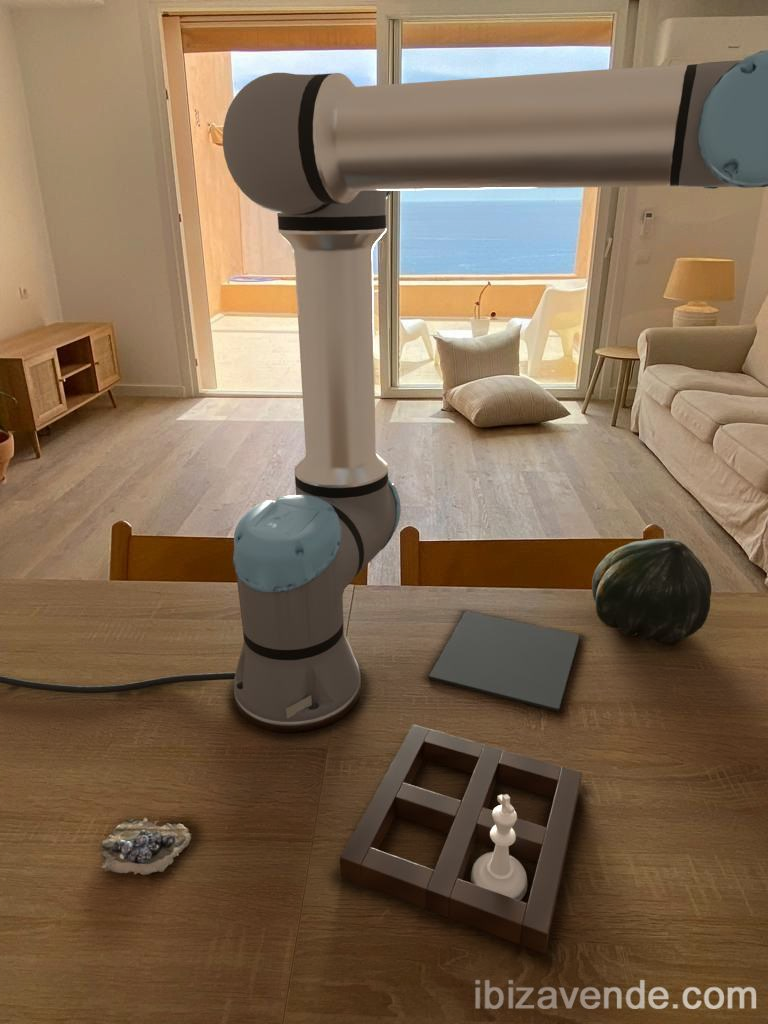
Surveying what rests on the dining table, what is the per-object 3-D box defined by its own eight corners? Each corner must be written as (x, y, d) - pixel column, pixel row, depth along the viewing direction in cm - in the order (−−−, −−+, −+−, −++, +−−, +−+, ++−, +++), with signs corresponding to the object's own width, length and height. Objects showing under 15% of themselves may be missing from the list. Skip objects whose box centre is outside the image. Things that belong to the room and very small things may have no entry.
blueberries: (101, 831, 66) (97, 816, 65) (187, 806, 69) (184, 792, 68) (102, 891, 60) (98, 876, 59) (196, 862, 63) (193, 847, 62)
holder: (340, 877, 61) (339, 857, 60) (412, 741, 76) (412, 724, 75) (545, 954, 55) (547, 934, 54) (579, 790, 70) (582, 771, 69)
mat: (428, 678, 86) (428, 676, 86) (465, 613, 100) (465, 610, 100) (558, 711, 81) (559, 709, 80) (579, 637, 94) (579, 635, 94)
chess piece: (492, 916, 58) (499, 830, 54) (459, 870, 62) (464, 787, 58) (539, 891, 60) (549, 806, 56) (504, 848, 64) (512, 766, 60)
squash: (586, 554, 104) (608, 514, 90) (690, 565, 102) (729, 526, 88) (584, 648, 98) (606, 621, 85) (694, 661, 96) (735, 635, 83)
